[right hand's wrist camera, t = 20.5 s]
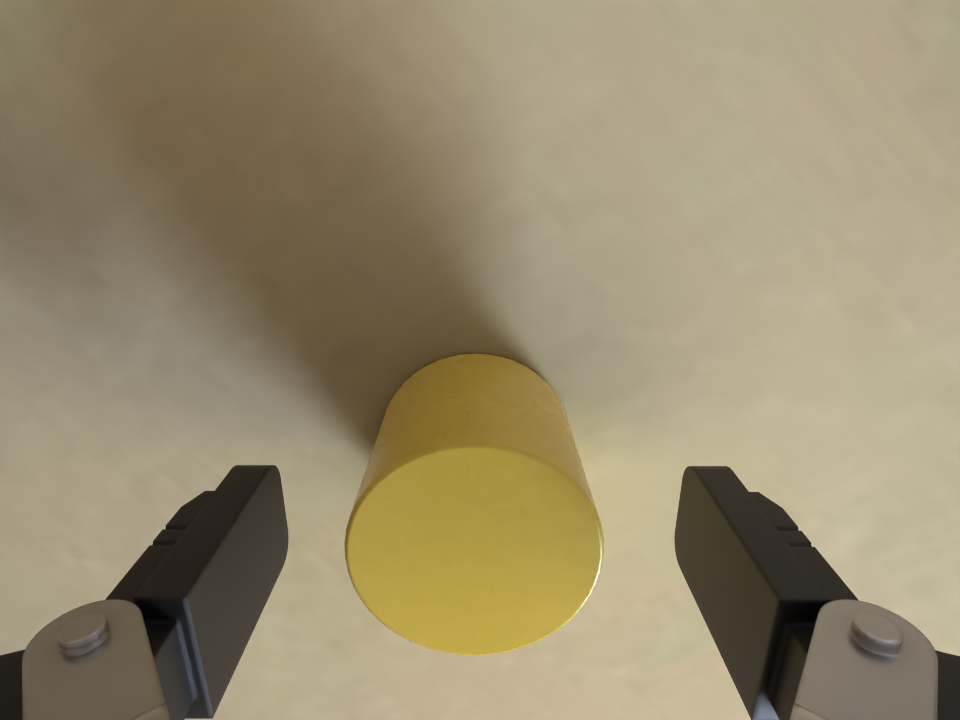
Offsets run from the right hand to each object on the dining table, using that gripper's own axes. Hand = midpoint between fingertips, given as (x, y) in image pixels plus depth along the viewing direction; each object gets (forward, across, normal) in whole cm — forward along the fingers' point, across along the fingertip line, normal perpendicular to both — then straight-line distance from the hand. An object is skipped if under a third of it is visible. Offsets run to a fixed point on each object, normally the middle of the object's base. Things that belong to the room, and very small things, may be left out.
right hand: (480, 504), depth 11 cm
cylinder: (+3, 0, 0) cm, 3 cm away
